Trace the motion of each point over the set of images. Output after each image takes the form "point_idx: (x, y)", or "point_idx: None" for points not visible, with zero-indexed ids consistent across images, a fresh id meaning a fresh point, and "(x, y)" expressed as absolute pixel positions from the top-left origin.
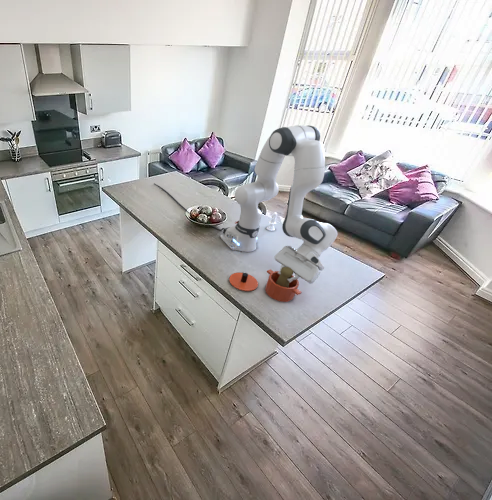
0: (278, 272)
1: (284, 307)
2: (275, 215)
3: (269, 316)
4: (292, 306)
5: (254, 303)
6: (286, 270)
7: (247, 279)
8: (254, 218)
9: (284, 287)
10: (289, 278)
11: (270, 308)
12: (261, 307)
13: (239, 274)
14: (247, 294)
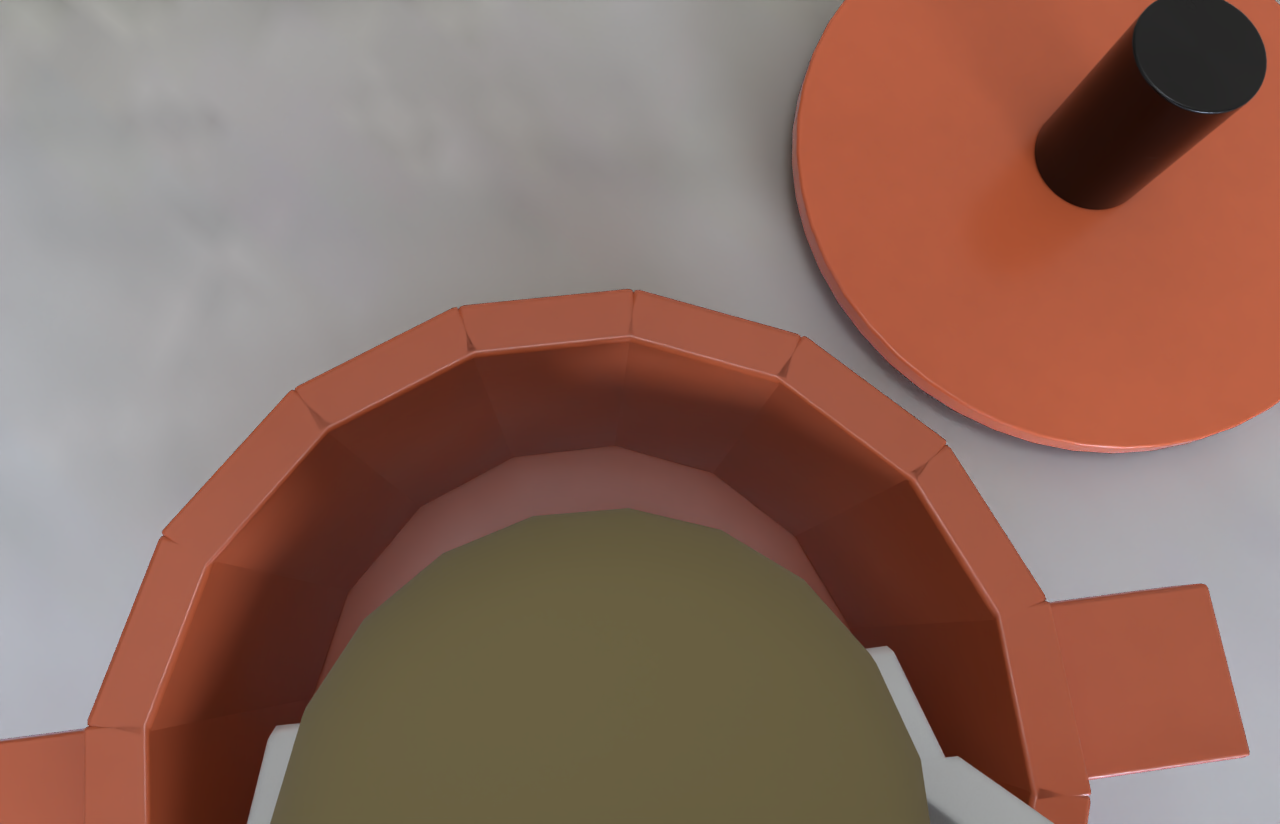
0: (880, 664)
1: (181, 498)
2: None
3: (123, 75)
4: None
5: (495, 39)
6: (522, 669)
7: (1119, 263)
8: None
9: (258, 475)
10: None
11: (275, 220)
12: (362, 88)
13: None
14: (742, 66)
